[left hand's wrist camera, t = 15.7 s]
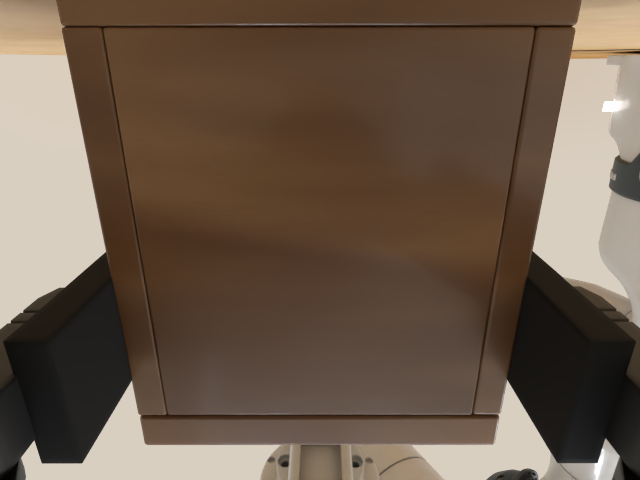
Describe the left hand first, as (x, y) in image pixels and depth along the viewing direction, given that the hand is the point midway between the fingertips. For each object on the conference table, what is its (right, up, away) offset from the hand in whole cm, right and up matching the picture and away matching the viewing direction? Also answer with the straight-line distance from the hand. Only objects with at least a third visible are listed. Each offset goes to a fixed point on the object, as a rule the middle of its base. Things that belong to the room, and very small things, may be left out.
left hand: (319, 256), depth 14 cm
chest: (0, +8, +1) cm, 8 cm away
